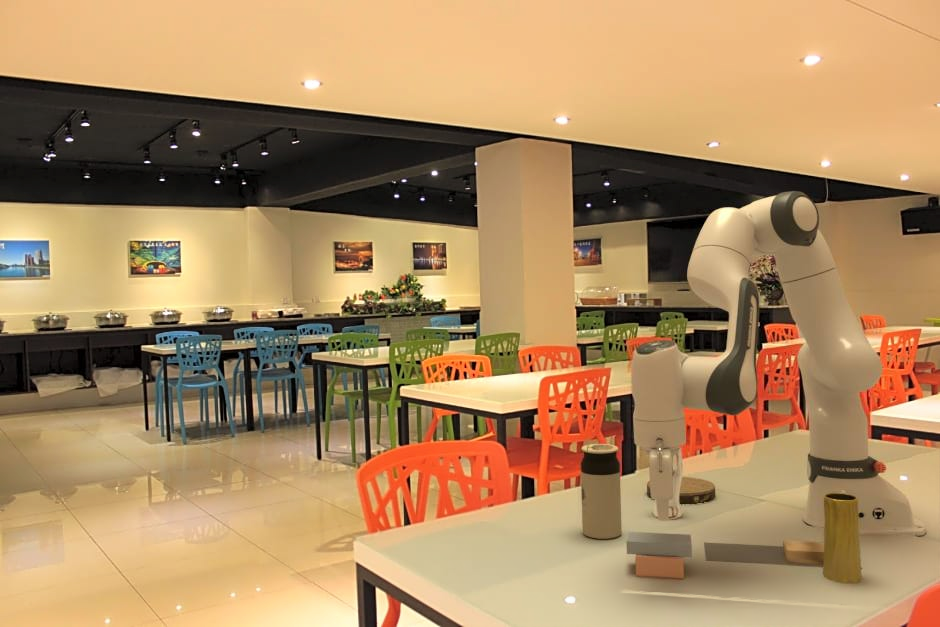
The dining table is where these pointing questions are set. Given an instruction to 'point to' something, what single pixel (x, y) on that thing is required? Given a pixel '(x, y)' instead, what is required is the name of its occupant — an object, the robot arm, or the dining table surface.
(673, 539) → the slate board
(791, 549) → the oak board
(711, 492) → the wood slice coaster
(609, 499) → the travel mug
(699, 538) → the dining table surface
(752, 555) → the mat
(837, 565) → the vase
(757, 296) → the robot arm
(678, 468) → the beer glass
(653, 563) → the orange frame
